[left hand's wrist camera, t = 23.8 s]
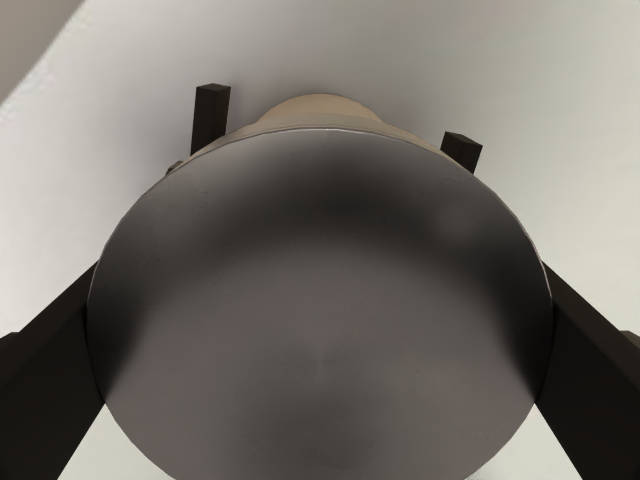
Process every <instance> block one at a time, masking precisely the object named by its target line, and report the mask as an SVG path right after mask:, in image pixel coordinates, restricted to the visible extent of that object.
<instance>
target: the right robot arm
mask: <svg viewBox="0 0 640 480" xmlns="http://www.w3.org/2000/svg"><path fill="white" fill-rule="evenodd" d="M230 89H231V87H228V86H223V85H219V84H214V83H212V84H208V85H203V86H199V87H196V98H195V109H194V120H193V131H192V142H191V154H190V157H191V156H192V155H193V154H195V153H196V152H198V151H199V150H201V149H202V148H204V147H206V146H207V145H209V144H210V143H212V142H214V141H215V140H217V139H218V138H220V137H222V136H224V135H225V132H226V123H227V115H228V106H229V98H230ZM482 147H483V146H482V145H480V144H479V143H477V142H475V141H473V140H471V139H469V138H467V137H465V136H463V135H461V134H456V133H451V132H446V131H445V135H444V138H443V141H442V145H441V148H440V150H441V151H442V152H444V153H445V154H446V155H448V156H449V157H450V158H452V159H453V160H454V161H456V162H457V163H458V164H460V165H461V166H462V167H464V168H465V169H466V170H468V171H469V172H470V173H471V174H474V171H475V168H476V165H477V162H478V159H479V156H480V153H481V150H482ZM183 162H184V161H178V162H177V163H175V164H174V165H172V166H171V167H170V168H169V169H168V171H167V173H166V175H167V174H168V173H169V172H171V171H172V170H173V169H175V168H176V167H177V166H179V165H180V164H181V163H183ZM166 175H165V176H166Z"/></svg>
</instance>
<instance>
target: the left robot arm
mask: <svg viewBox="0 0 640 480" xmlns="http://www.w3.org/2000/svg"><path fill="white" fill-rule="evenodd" d="M98 261H99V260H98ZM98 261H97V262H96V263H95V264H94V265H92V266H91V267H90V268H89V269H88V270H87V271H86V272H85V273H84V274H83V275H81V276H80V277H79V278H78V279H77V280H76V281H75V282H74V283H73V284H71V285H70V286H69V287H68V288H67V289H66V290H65V291H64V292H63V293H62V294H60V295H59V296H58V297H57V298H56V299H55V300H54V301H53V302H52V303H51V304H49V305H48V306H47V307H46V308H45V309H44V310H43V311H42V312H41V313H39V314H38V315H37V316H36V317H35V318H34V319H33V320H32V321H31V322H30V323H28V324H27V325H26V326H25V327H24V328H23V329H22V330H21V331H20V332H11V333H9V334H8V335H6V336H4V337H2V338H0V480H57V479H58V477H59V476H60V474H61V473H62V471H63V469H64V468H65V466H66V465H67V463H68V461H69V460H70V458H71V457H72V455H73V453H74V452H75V450H76V449H77V447H78V445H79V444H80V442H81V441H82V439H83V437H84V436H85V434H86V433H87V431H88V429H89V428H90V426H91V425H92V423H93V421H94V420H95V418H96V417H97V415H98V413H99V412H100V410H101V409H102V407H103V405H104V404H105V402H104V400H103V398H102V395H101V393H100V390H99V388H98V385H97V383H96V380H95V378H94V375H93V371H92V367H91V363H90V358H89V354H88V348H87V336H86V314H87V301H88V295H89V291H90V286H91V282H92V278H93V274H94V270H95V268H96V266H97V263H98ZM541 261H542V260H541ZM542 263H543V266H544V268H545V272H546V276H547V279H548V283H549V287H550V291H551V295H552V305H553V316H554V331H553V347H552V352H551V356H550V361H549V365H548V369H547V374H546V377H545V379H544V382H543V384H542V387H541V390H540V392H539V395H538V397H537V399H536V401H535V404H536V406H537V408H538V409H539V411H540V412H541V414H542V416H543V417H544V419H545V420H546V422H547V424H548V425H549V427H550V428H551V430H552V432H553V433H554V435H555V436H556V438H557V440H558V441H559V443H560V444H561V446H562V448H563V449H564V451H565V452H566V454H567V456H568V457H569V459H570V460H571V462H572V464H573V465H574V467H575V468H576V470H577V472H578V473H579V475H580V476H581V478H582V480H640V337H639V336H637V335H636V334H634V333H632V332H630V331H619V330H618V329H617V328H616V327H615V326H613V325H612V324H611V323H610V322H609V321H608V320H607V319H606V318H605V317H604V316H602V315H601V314H600V313H599V312H598V311H597V310H596V309H595V308H594V307H592V306H591V305H590V304H589V303H588V302H587V301H586V300H585V299H584V298H583V297H581V296H580V295H579V294H578V293H577V292H576V291H575V290H574V289H573V288H572V287H570V286H569V285H568V284H567V283H566V282H565V281H564V280H563V279H562V278H560V277H559V276H558V275H557V274H556V273H555V272H554V271H553V270H552V269H551V268H549V267H548V266H547V265H546V264H545V263H544V262H543V261H542Z"/></svg>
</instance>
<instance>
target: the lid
mask: <svg viewBox="0 0 640 480" xmlns="http://www.w3.org/2000/svg"><path fill="white" fill-rule="evenodd" d="M553 331H554V316H553V305H552V295H551V291H550V287H549V283H548V279H547V276H546V272H545V268H544V266H543V263H542V261H541V259H540V257H539V254H538V252H537V250H536V248H535V245H534V243H533V241H532V240H531V238H530V237H529V235H528V233H527V232H526V230H525V229H524V227H523V226H522V224H521V223H520V221H519V220H518V218H517V217H516V215H515V214H514V213H513V212H512V211H511V210H510V209H509V208H508V207H507V205H506V204H505V203H504V202H503V201H502V200H501V199H500V198H499V197H498V195H497V194H496V193H495V192H493V191H492V190H491V189H490V188H489V187H487V186H486V185H485V184H484V183H482V182H481V181H480V180H479V179H478V178H476V177H475V176H474V175H473V174H471V173H470V172H469V171H468V170H466V169H465V168H464V167H462V166H461V165H460V164H458V163H457V162H456V161H454V160H453V159H452V158H450V157H449V156H448V155H446V154H445V153H444V152H442V151H441V150H439V149H438V148H436V147H434V146H433V145H431V144H429V143H428V142H426V141H424V140H423V139H421V138H419V137H418V136H416V135H414V134H411V133H409V132H406V131H404V130H402V129H399V128H397V127H395V126H392V125H390V124H386V123H382V122H379V121H375V120H371V119H368V118H364V117H358V116H350V115H342V114H335V113H308V114H297V115H290V116H283V117H276V118H272V119H268V120H265V121H261V122H258V123H254V124H251V125H247V126H245V127H242V128H240V129H238V130H236V131H233V132H231V133H229V134H227V135H224V136H222V137H220V138H218V139H217V140H215V141H214V142H212V143H210V144H209V145H207V146H206V147H204V148H202V149H201V150H199V151H198V152H196V153H195V154H193V155H192V156H191V157H189V158H188V159H187V160H185V161H184V162H183V163H181V164H180V165H179V166H177V167H176V168H175V169H173V170H172V171H171V172H169V173H168V174H167V175H166V176H164V177H163V178H162V179H161V180H160V181H159V182H157V183H156V184H155V185H154V186H153V187H151V188H150V189H149V190H148V191H147V192H146V193H144V194H143V195H142V196H141V197H140V198H139V199H138V201H137V202H136V203H135V204H134V205H133V206H132V208H131V209H130V210H129V211H128V212H127V213H126V214H125V216H124V217H123V218H122V219H121V221H120V222H119V224H118V225H117V227H116V229H115V230H114V232H113V233H112V235H111V237H110V238H109V240H108V241H107V243H106V245H105V247H104V249H103V251H102V254H101V256H100V259H99V261H98V263H97V266H96V268H95V270H94V274H93V278H92V282H91V286H90V291H89V295H88V301H87V314H86V336H87V348H88V354H89V358H90V363H91V367H92V371H93V375H94V378H95V380H96V383H97V385H98V388H99V390H100V393H101V395H102V398H103V400H104V402H105V404H106V405H107V407H108V409H109V411H110V412H111V414H112V416H113V417H114V419H115V421H116V422H117V424H118V425H119V426H120V428H121V429H122V430H123V431H124V433H125V434H126V435H127V437H128V438H129V439H130V441H131V442H132V443H133V444H134V445H135V446H136V447H137V448H138V449H139V450H140V451H141V452H142V453H143V454H144V455H145V456H146V457H147V458H148V459H149V460H150V461H152V462H153V463H154V464H155V465H157V466H158V467H159V468H160V469H162V470H163V471H164V472H165V473H166V474H168V475H169V476H171V477H172V478H174V479H176V480H464V479H465V478H467V477H468V476H470V475H471V474H473V473H475V472H476V471H477V470H478V469H479V468H481V467H482V466H483V465H484V464H485V463H487V462H488V461H489V460H490V459H491V458H493V457H494V456H495V455H496V454H497V453H498V452H499V450H500V449H501V448H502V447H503V446H504V445H505V444H506V443H507V442H508V441H509V440H510V439H511V438H512V436H513V435H514V434H515V432H516V431H517V430H518V428H519V427H520V426H521V424H522V423H523V421H524V420H525V419H526V417H527V415H528V413H529V412H530V410H531V408H532V406H533V404H534V403H535V401H536V399H537V397H538V395H539V392H540V390H541V387H542V384H543V382H544V379H545V377H546V374H547V369H548V365H549V361H550V356H551V352H552V347H553Z"/></svg>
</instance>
